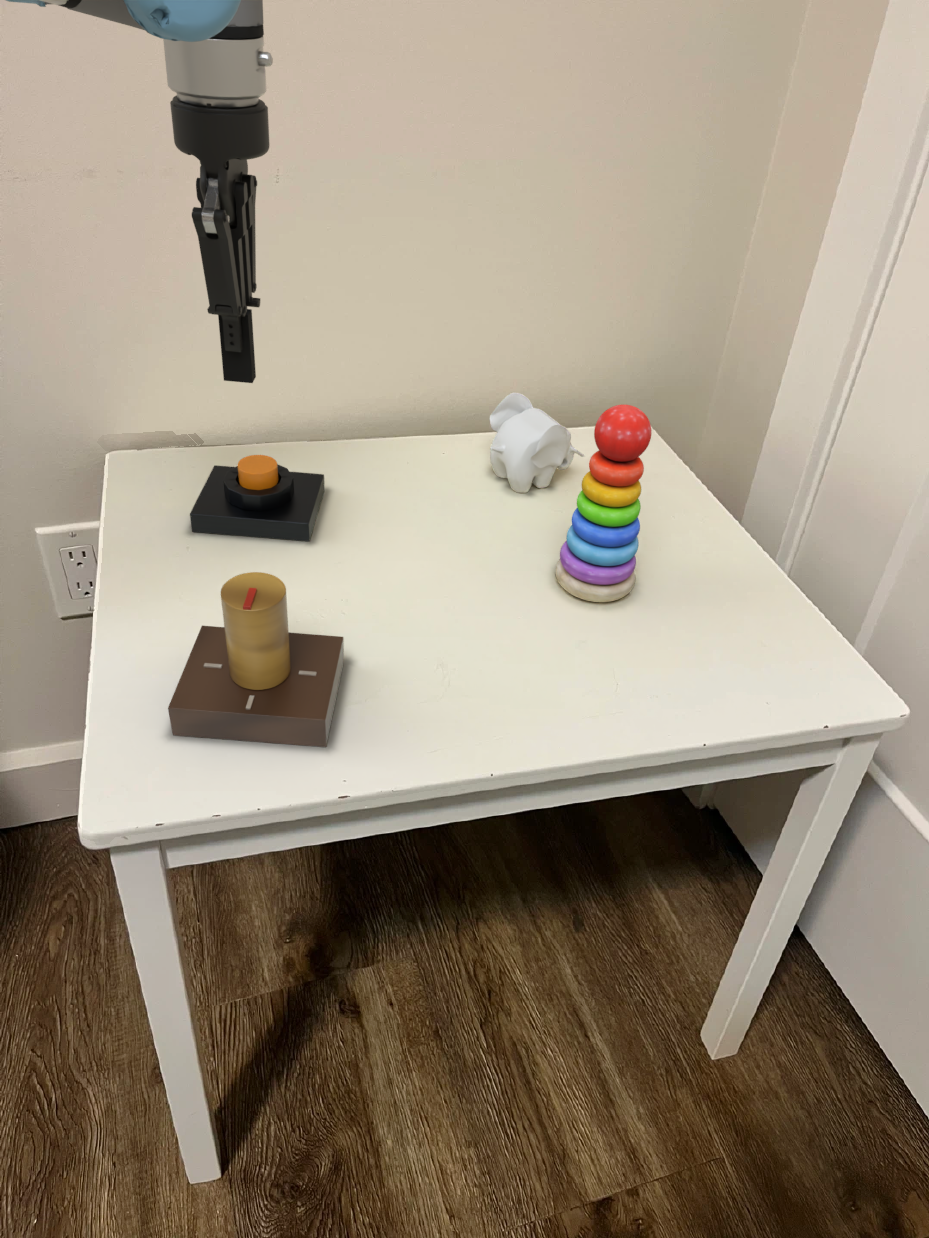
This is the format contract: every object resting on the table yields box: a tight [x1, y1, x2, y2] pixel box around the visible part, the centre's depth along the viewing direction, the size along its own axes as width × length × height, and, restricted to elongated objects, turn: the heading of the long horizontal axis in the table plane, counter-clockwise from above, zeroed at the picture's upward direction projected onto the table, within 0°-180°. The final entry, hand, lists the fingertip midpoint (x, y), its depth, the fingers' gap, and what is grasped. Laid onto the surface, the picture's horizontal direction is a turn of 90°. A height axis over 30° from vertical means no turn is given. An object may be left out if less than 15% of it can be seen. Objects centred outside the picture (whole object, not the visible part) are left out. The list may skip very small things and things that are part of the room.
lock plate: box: [167, 625, 345, 748], centre depth 74 cm, size 12×10×3 cm
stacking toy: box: [555, 404, 653, 603], centre depth 86 cm, size 8×8×19 cm
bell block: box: [189, 463, 325, 542], centre depth 96 cm, size 12×10×4 cm
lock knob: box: [220, 571, 291, 690], centre depth 71 cm, size 5×5×8 cm
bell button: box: [237, 454, 278, 490], centre depth 94 cm, size 4×4×2 cm
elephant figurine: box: [489, 391, 586, 494], centre depth 104 cm, size 10×12×9 cm
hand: (239, 378), depth 87 cm, fingers closed
